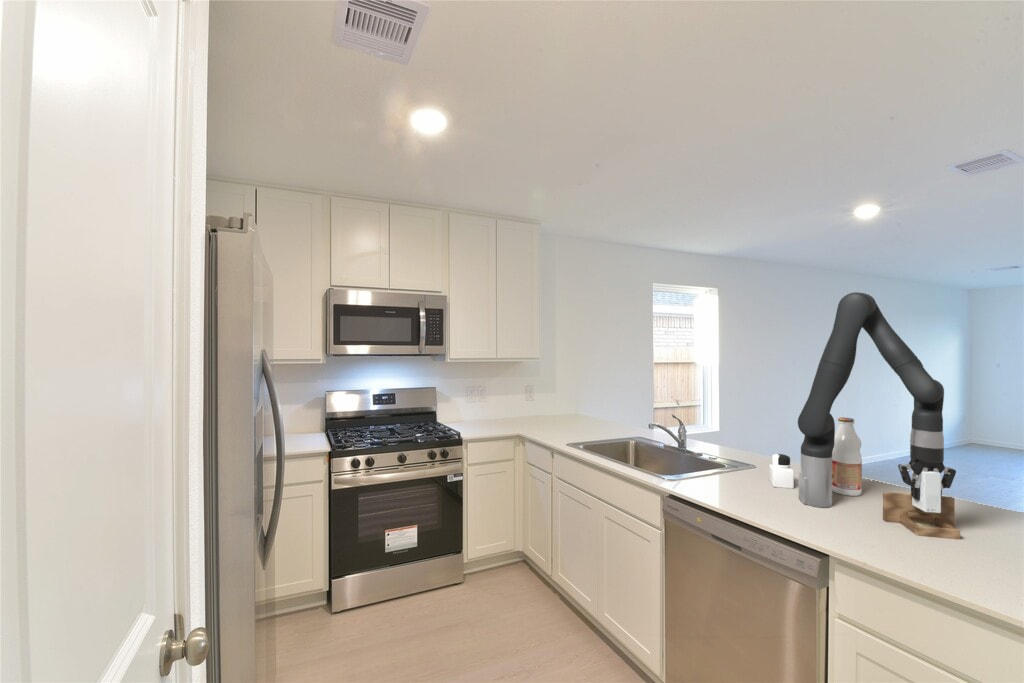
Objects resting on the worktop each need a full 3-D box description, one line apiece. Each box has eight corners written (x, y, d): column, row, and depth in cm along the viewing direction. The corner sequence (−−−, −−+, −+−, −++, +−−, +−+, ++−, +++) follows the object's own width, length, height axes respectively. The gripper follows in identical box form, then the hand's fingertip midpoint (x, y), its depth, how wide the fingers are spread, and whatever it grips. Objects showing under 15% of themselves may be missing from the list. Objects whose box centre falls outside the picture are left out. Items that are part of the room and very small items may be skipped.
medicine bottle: (789, 483, 180) (789, 453, 180) (793, 489, 173) (793, 458, 173) (769, 481, 182) (769, 452, 182) (773, 487, 175) (773, 456, 175)
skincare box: (941, 513, 133) (941, 473, 133) (924, 512, 134) (925, 472, 134) (927, 505, 139) (927, 467, 139) (911, 504, 140) (911, 466, 140)
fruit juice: (847, 497, 163) (847, 421, 163) (824, 489, 173) (824, 416, 172) (868, 495, 165) (868, 420, 165) (844, 486, 175) (844, 415, 174)
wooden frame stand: (901, 534, 134) (902, 504, 134) (882, 519, 144) (882, 491, 144) (976, 540, 129) (976, 509, 129) (951, 525, 139) (951, 496, 139)
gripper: (905, 445, 134) (905, 502, 135) (964, 448, 131) (963, 506, 131) (892, 440, 142) (891, 493, 142) (947, 442, 138) (946, 497, 138)
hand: (926, 499), depth 136 cm, fingers closed on skincare box, 4 cm apart
